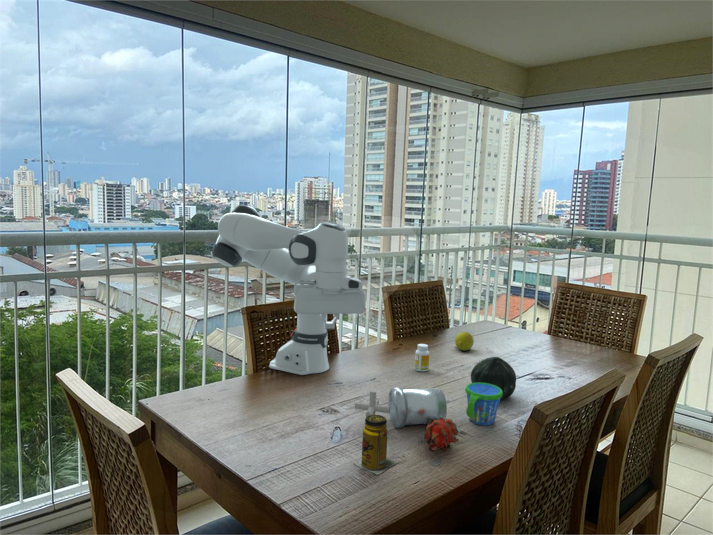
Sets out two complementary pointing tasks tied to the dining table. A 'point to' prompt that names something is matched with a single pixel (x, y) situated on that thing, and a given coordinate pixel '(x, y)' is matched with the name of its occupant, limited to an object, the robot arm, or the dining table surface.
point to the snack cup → (482, 402)
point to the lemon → (464, 341)
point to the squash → (495, 375)
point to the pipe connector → (372, 405)
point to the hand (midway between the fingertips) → (328, 328)
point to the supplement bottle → (422, 358)
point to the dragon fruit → (441, 434)
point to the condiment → (375, 445)
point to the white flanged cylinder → (416, 406)
